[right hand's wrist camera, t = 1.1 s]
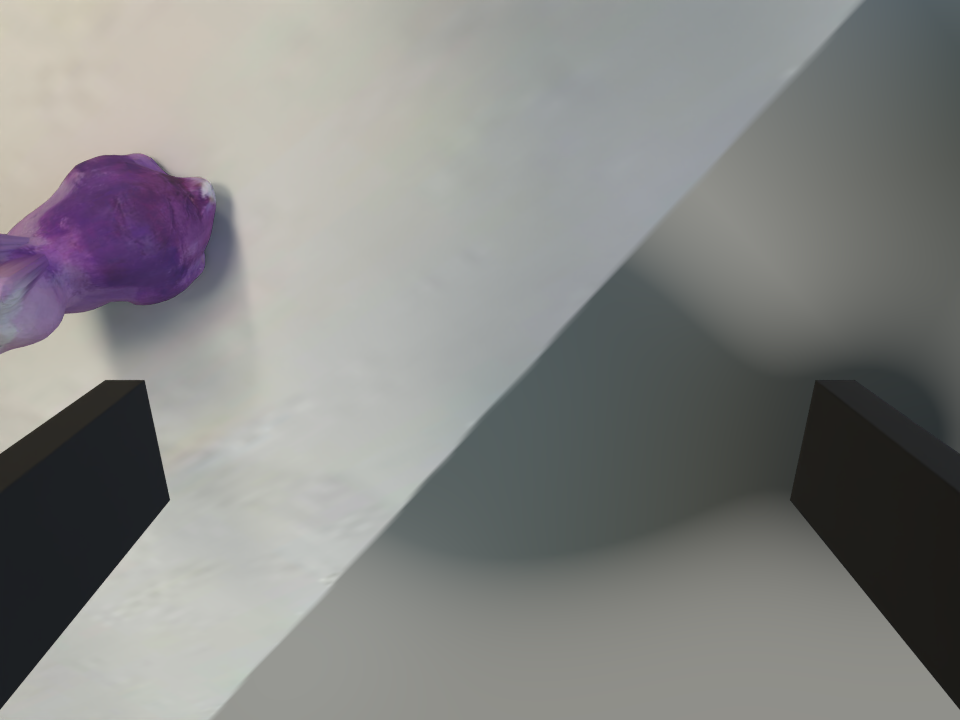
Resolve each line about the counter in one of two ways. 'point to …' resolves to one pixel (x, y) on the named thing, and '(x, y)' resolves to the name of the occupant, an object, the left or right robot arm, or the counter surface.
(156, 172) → the figurine
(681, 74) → the counter surface
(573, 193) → the counter surface
